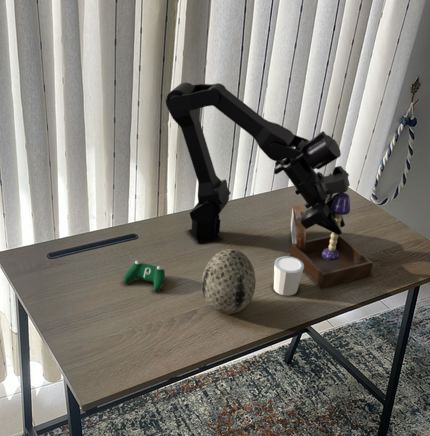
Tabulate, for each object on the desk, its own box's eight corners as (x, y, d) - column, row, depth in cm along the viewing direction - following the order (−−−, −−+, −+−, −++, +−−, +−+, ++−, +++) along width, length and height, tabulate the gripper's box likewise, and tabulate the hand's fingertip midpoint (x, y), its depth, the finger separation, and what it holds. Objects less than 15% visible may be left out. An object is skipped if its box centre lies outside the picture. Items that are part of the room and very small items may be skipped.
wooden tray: (321, 288, 160) (323, 274, 158) (289, 257, 170) (291, 243, 168) (369, 275, 165) (373, 262, 163) (336, 246, 176) (339, 233, 173)
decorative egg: (192, 298, 153) (195, 242, 144) (239, 289, 157) (245, 234, 148) (211, 329, 145) (216, 271, 136) (260, 319, 149) (268, 262, 140)
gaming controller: (162, 294, 157) (170, 270, 157) (158, 291, 153) (165, 266, 154) (126, 285, 159) (133, 261, 159) (121, 281, 155) (129, 257, 156)
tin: (304, 258, 170) (309, 229, 165) (291, 257, 169) (296, 228, 164) (299, 227, 182) (303, 200, 177) (287, 226, 182) (292, 199, 177)
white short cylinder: (280, 300, 155) (284, 275, 151) (265, 284, 160) (268, 259, 156) (305, 293, 158) (310, 268, 154) (289, 277, 162) (293, 253, 158)
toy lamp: (317, 251, 167) (329, 191, 157) (334, 249, 168) (347, 189, 158) (326, 261, 163) (338, 201, 153) (343, 259, 165) (357, 199, 155)
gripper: (323, 177, 145) (363, 233, 149) (340, 145, 159) (376, 197, 163) (283, 201, 151) (323, 254, 156) (303, 168, 166) (338, 218, 170)
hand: (341, 230), depth 161 cm, fingers closed on toy lamp, 3 cm apart
